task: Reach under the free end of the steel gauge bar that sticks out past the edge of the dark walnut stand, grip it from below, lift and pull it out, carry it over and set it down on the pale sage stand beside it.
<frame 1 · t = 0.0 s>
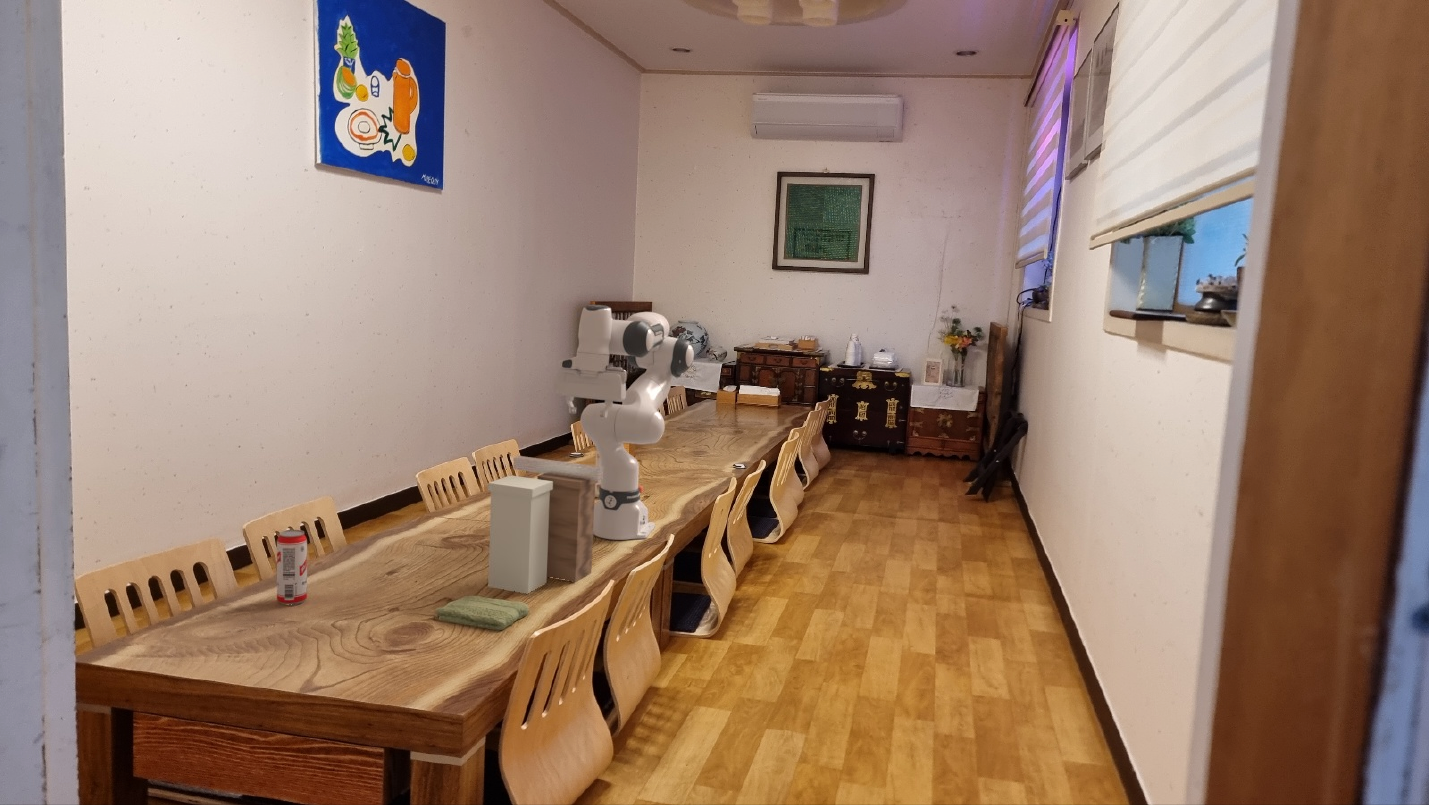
hand: (587, 415, 259), 39 cm above the table, tool pointing down, fingers open, 8 cm apart
coffeecake box: (606, 493, 336), on the table
walnut stand: (564, 574, 246), on the table
beer can: (291, 602, 216), on the table
gauge bar: (557, 474, 244), point 26 cm above the table, touching walnut stand
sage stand: (517, 585, 236), on the table
washcloth: (482, 619, 214), on the table
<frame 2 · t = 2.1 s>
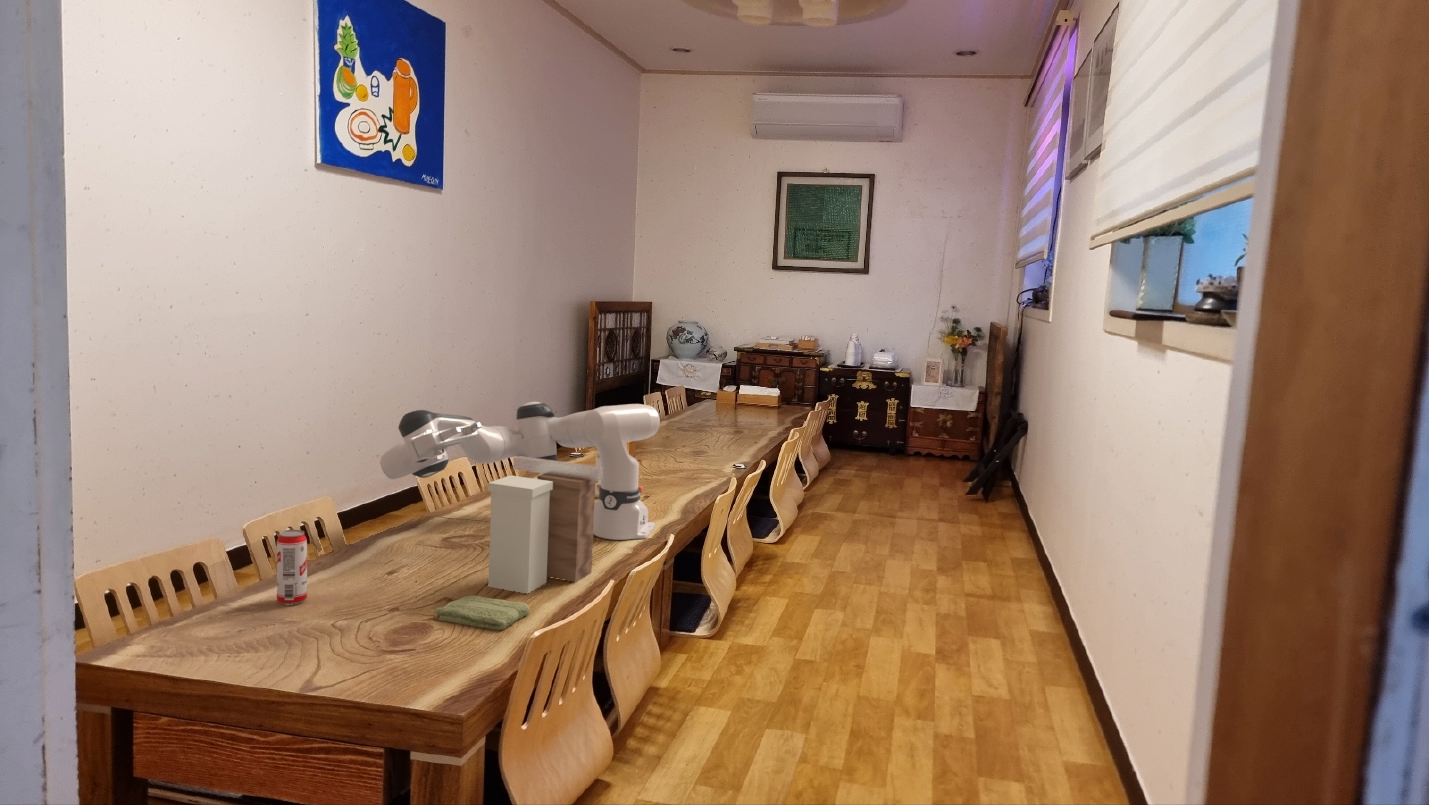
hand: (469, 427, 251), 35 cm above the table, tool pointing upward, fingers open, 8 cm apart
nothing on the table moved.
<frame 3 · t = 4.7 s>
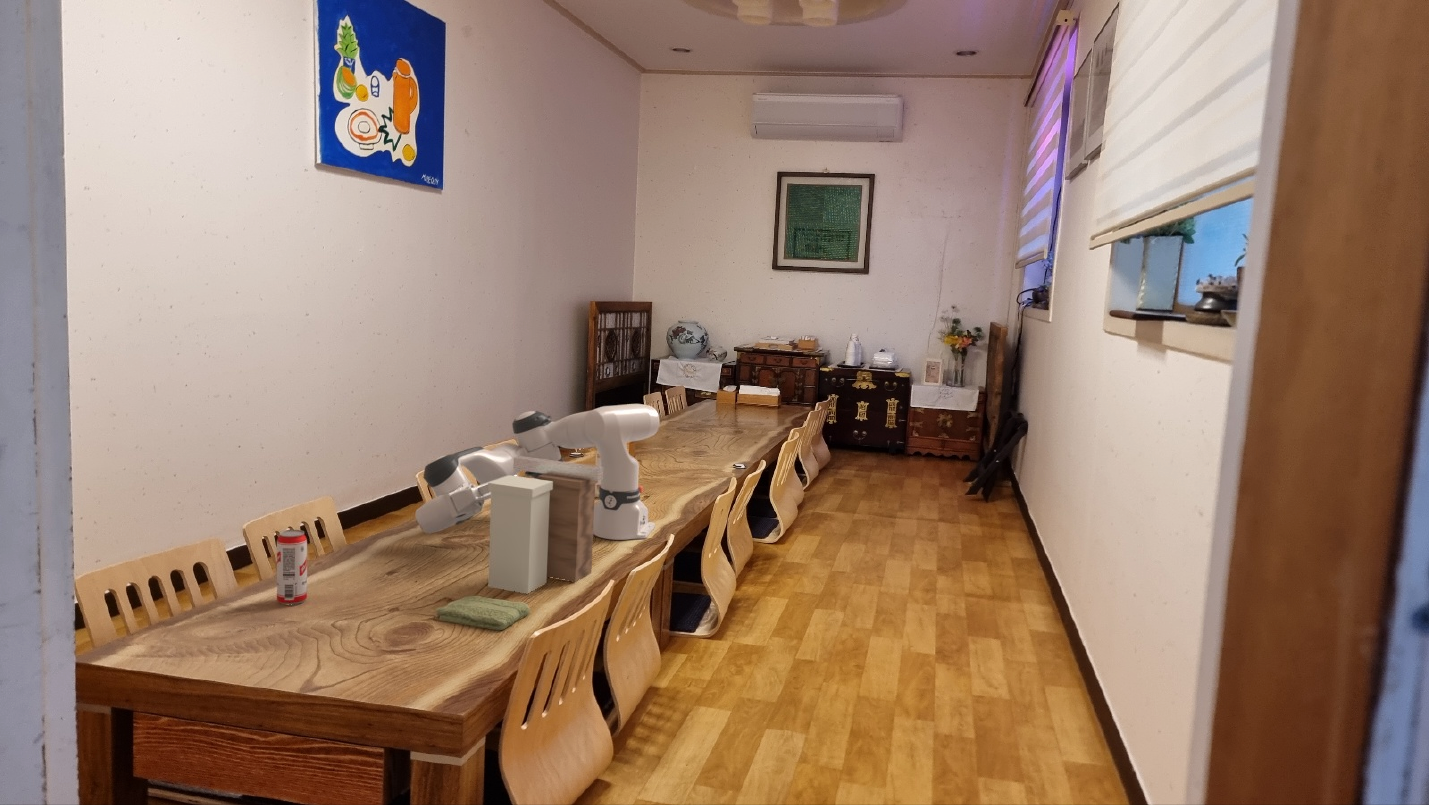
hand: (507, 480, 248), 23 cm above the table, tool pointing upward, fingers open, 8 cm apart
nothing on the table moved.
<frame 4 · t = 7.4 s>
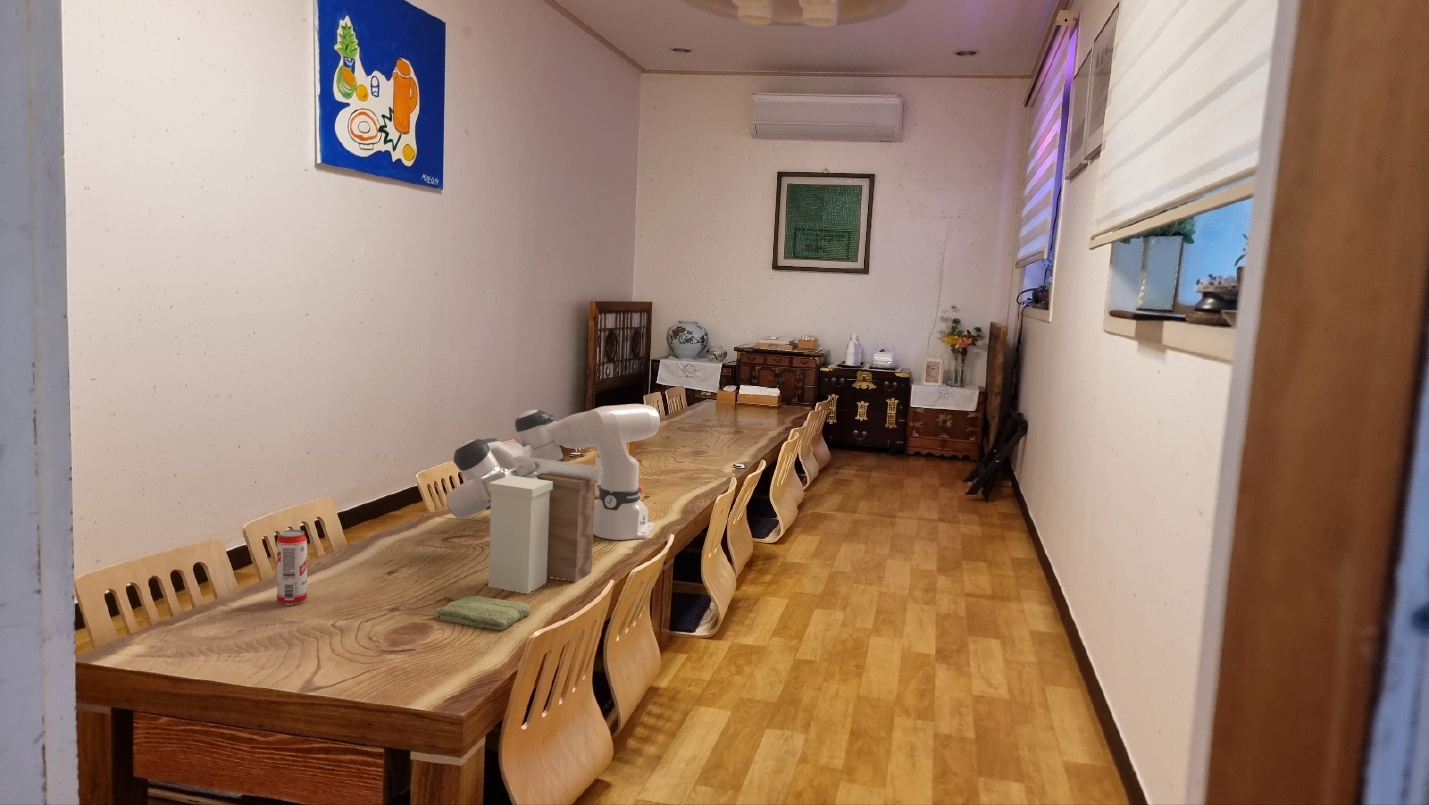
hand: (539, 464, 245), 28 cm above the table, tool pointing upward, fingers closed on gauge bar, 3 cm apart
gauge bar: (557, 474, 244), point 26 cm above the table, touching gripper
everything else where it was.
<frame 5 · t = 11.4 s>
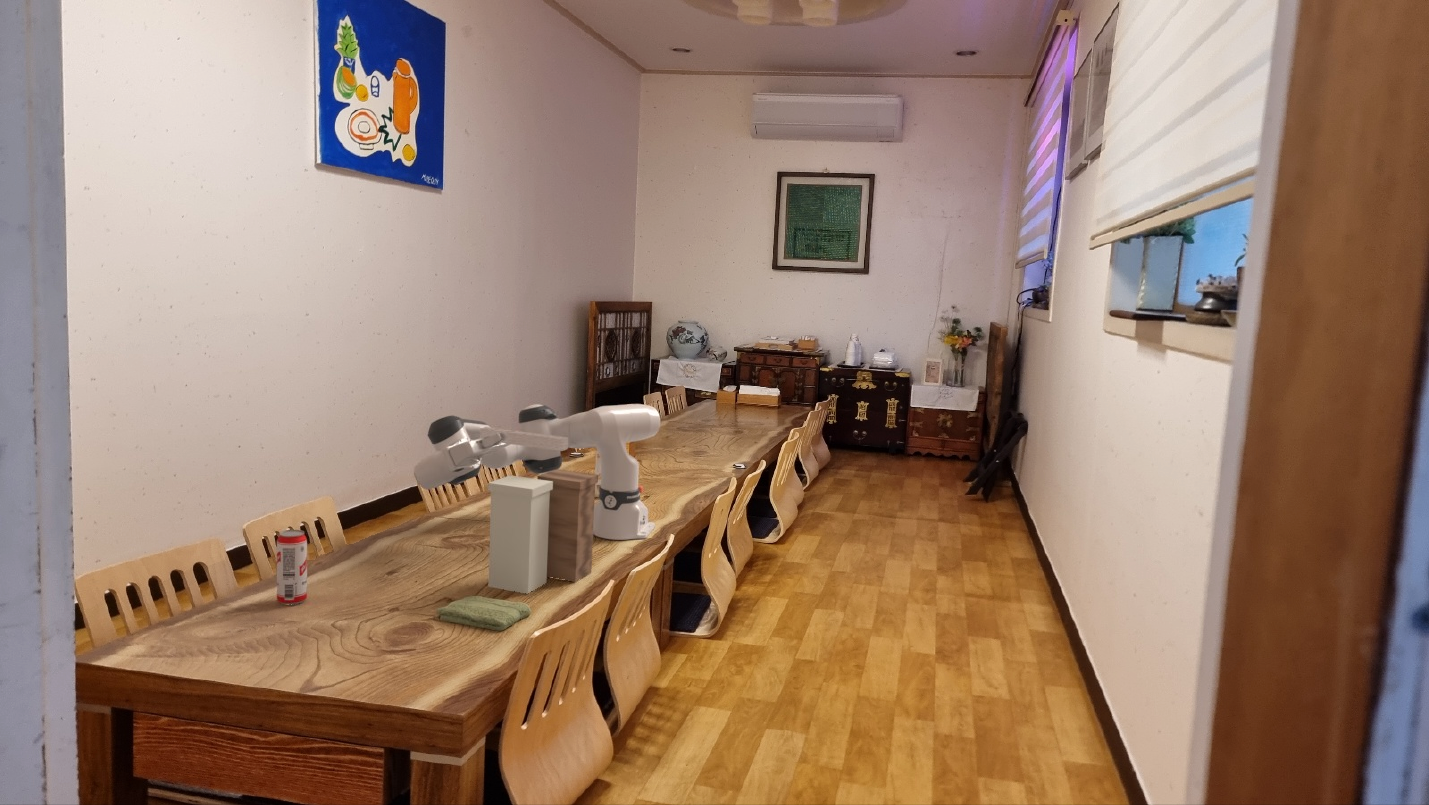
hand: (505, 434, 247), 34 cm above the table, tool pointing upward, fingers closed on gauge bar, 3 cm apart
gauge bar: (523, 444, 246), point 33 cm above the table, touching gripper
everything else where it was.
when the fingers open (30 cm above the table, at t = 15.5 s): gauge bar drops 2 cm, resting on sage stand.
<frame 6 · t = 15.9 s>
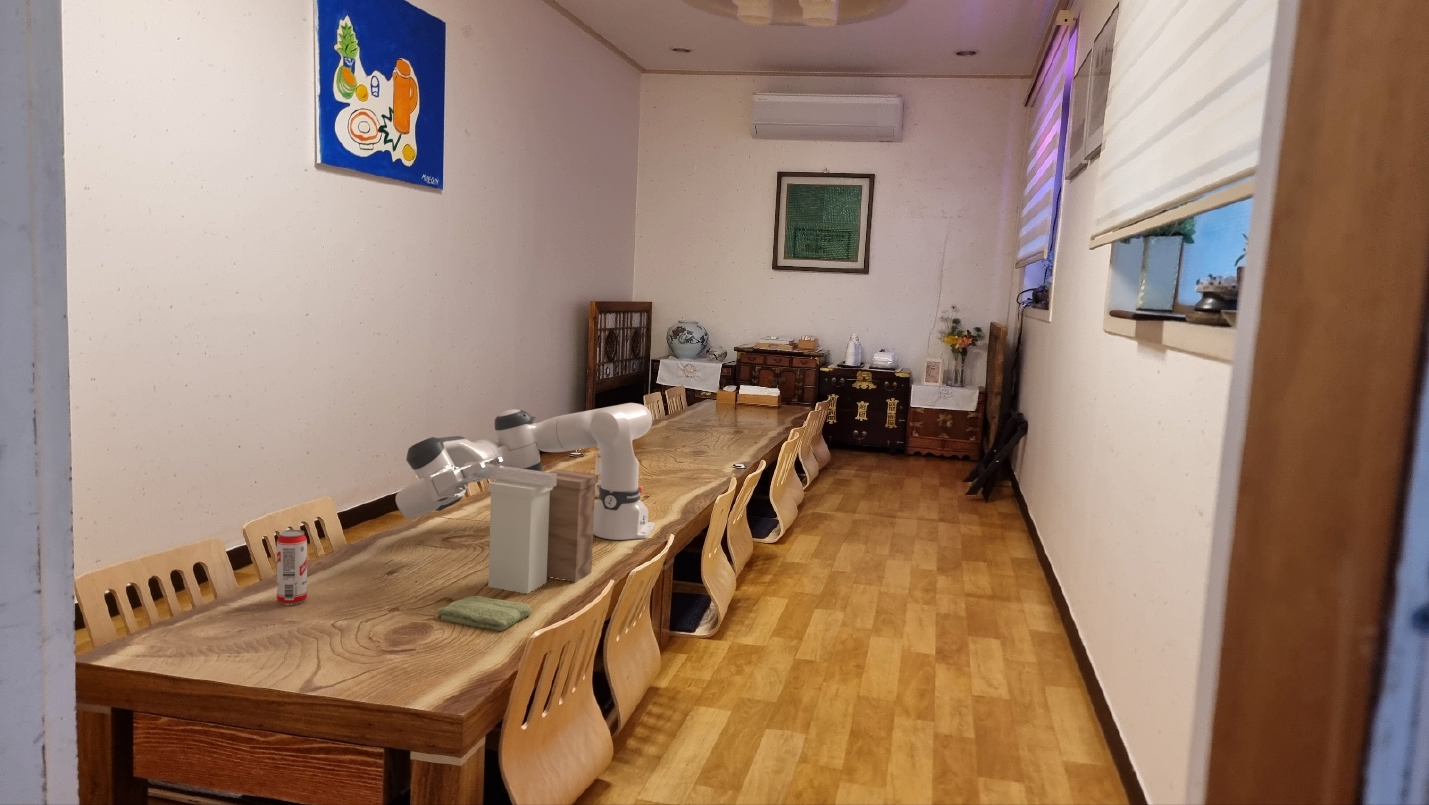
hand: (492, 462, 234), 30 cm above the table, tool pointing upward, fingers open, 7 cm apart
gauge bar: (509, 480, 233), point 26 cm above the table, touching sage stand
everything else where it was.
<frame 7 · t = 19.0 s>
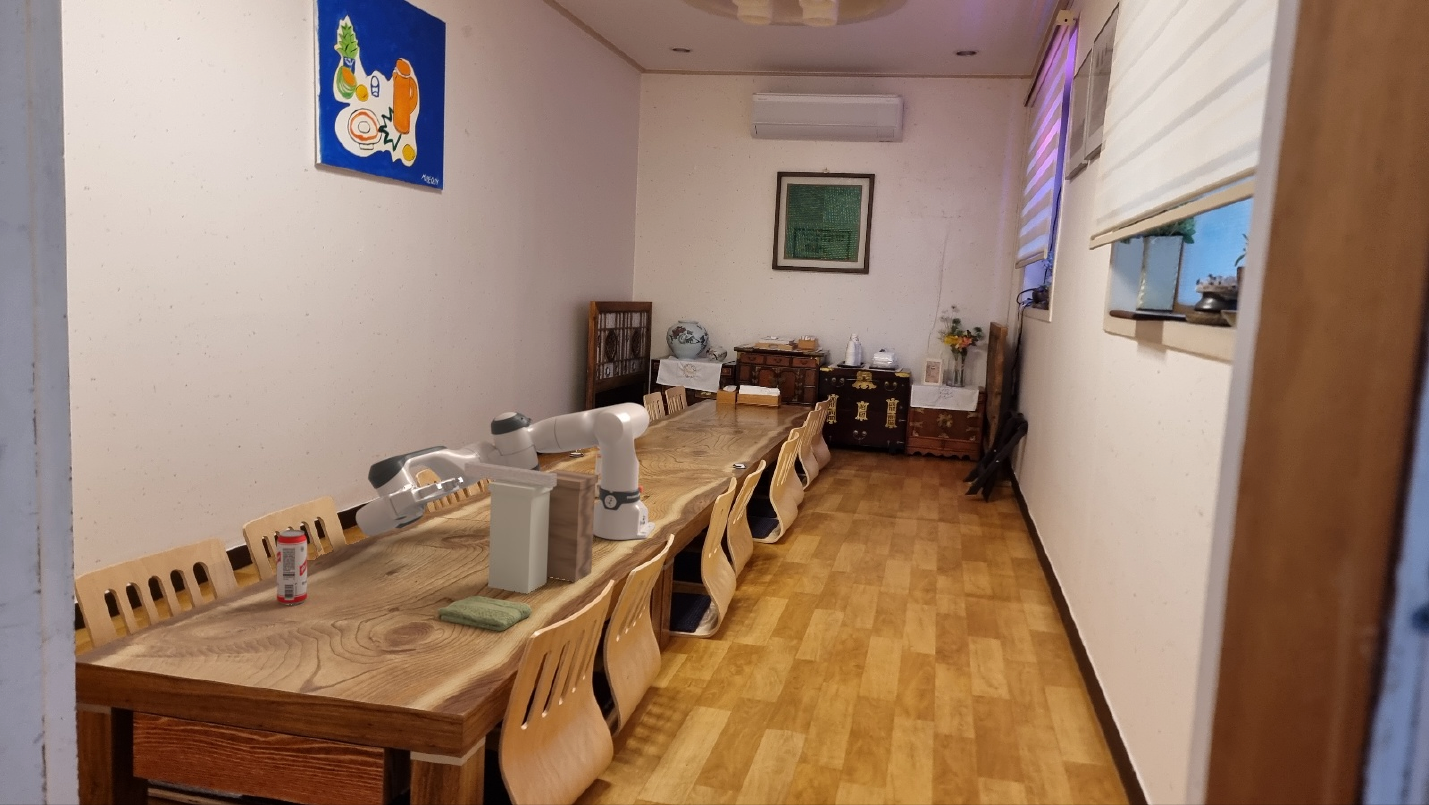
hand: (450, 482, 239), 23 cm above the table, tool pointing upward, fingers open, 8 cm apart
nothing on the table moved.
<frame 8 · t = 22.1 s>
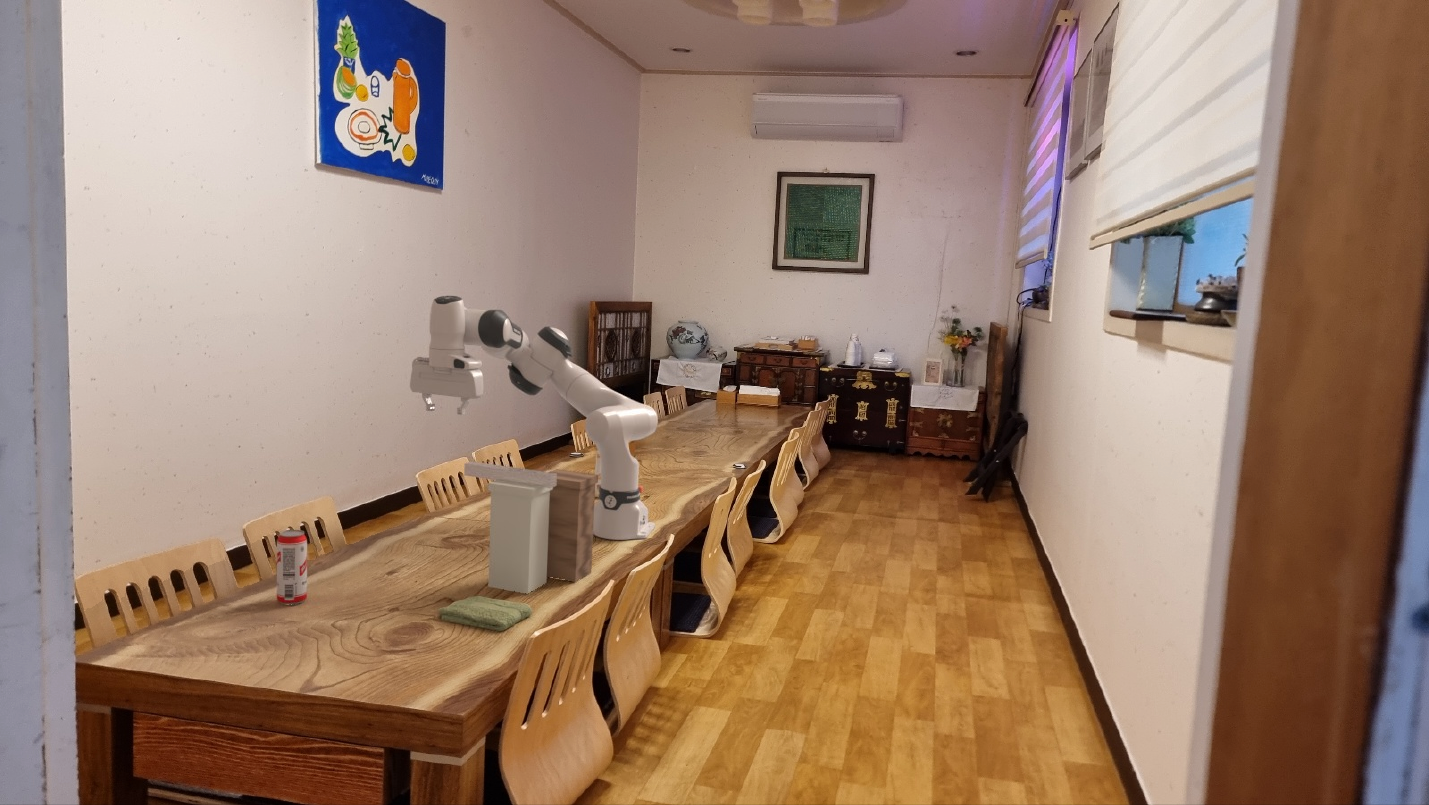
hand: (445, 412, 248), 39 cm above the table, tool pointing down, fingers open, 8 cm apart
nothing on the table moved.
at the end: gauge bar inside the target area on the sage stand (1.1 cm from its centre), point 26.0 cm above the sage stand's base; gauge bar tilted 0°; the gripper is holding nothing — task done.
